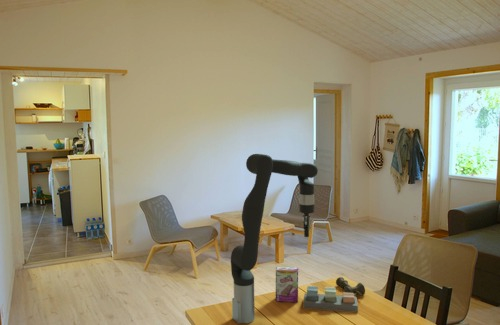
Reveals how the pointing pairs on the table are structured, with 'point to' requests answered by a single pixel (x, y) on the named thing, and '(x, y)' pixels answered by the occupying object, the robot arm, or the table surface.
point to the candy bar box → (286, 284)
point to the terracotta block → (348, 297)
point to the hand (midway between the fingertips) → (306, 236)
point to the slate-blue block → (312, 293)
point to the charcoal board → (330, 304)
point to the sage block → (330, 294)
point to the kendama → (348, 288)
